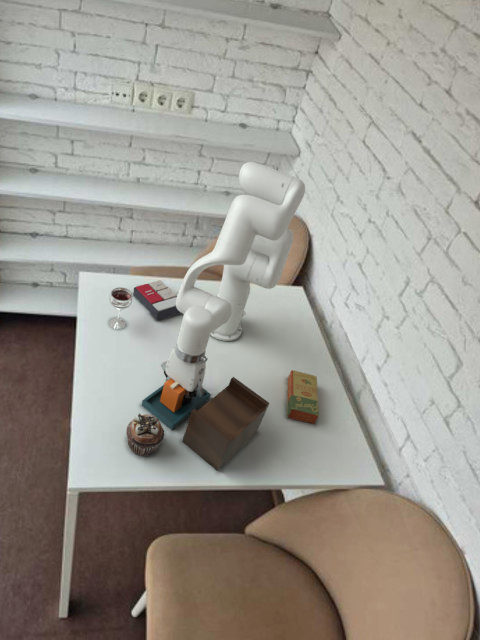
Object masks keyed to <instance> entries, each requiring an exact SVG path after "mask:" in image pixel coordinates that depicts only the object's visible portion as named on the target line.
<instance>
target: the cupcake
mask: <svg viewBox="0 0 480 640" xmlns="http://www.w3.org/2000/svg"><path fill="white" fill-rule="evenodd" d="M127 424H128V425H127V426H126V432H125V433H126V438H127V444H128V447H129V449H130V451H131V452H132V454H134V455H137V456H139V457H149V456H150V457H151V456H152V455H153V454H155V453H156V451H157V450H158V449H159V447H160V445H161V444H162V443H163V440H164V439H165V430H164V427H163V425H162V422H161V421H160V420H159V419H157V418H156V417H155V416H154V415H153V414H150V413H146V414H141V413H135V415H134V417H133V419H132V420H131V421H130V422H129V423H127Z"/></svg>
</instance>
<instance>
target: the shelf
mask: <svg viewBox="0 0 480 640" xmlns="http://www.w3.org/2000/svg"><path fill="white" fill-rule="evenodd" d="M269 406H270V402H269V401H268V400H266V399H265V398H264V397H262V396H261V395H259V394H258V393H257V392H255V391H254V390H253V389H252V388H250V387H248V386H247V385H246V384H244V383H243V382H241V381H240V380H239V379H237V378H236V377H235V376H232V377H231V378H230V381H229V383H228V385H227V386H225V387H224V388H223V389H222V390H221V391H220V392H218V393H217V394H215V396H214V397H212V398H210V399H209V401H207V402H206V403H204V404H203V405H202V406H201V407H200V408H198V409H197V410H195V409H194V410H192V411H191V415H189V419H188V422H187V424H186V428H185V430H184V431H185V432H184V434H183V438H182V441H181V442H182V443H183V444H184V445H185V446H186V447H188V448H189V449H190V450H191V451H193V452H194V453H195V454H196V455H198V456H199V458H201V459H202V460H203V461H205V462H206V463H207V464H208V465H210V466H211V467H212V468H213V469H215V470H216V471H217V472H218V471H219V470H221V469H222V467H223V466H224V465H226V464H227V463H228V461H230V460H231V459H232V458H233V457H234V456H235V455H236V454H237V452H239V451H240V450H241V449H242V448H243V447H244V446H245V445H246V444H247V443H248V442H249V441H250V440H251V439H252V438H253V437H254V436H255V435H256V434H257V433H258V431H259V428H260V426H261V425H262V421H263V419H264V417H265V414H266V413H267V410H268V408H269Z"/></svg>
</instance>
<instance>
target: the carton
mask: <svg viewBox="0 0 480 640" xmlns="http://www.w3.org/2000/svg"><path fill="white" fill-rule="evenodd" d="M286 390H287V393H286V394H287V396H286V398H287V400H286V418H288V419H292V420H296V421H300V422H304V423H307V424H313V425H315V423H316V422H317V420H318V419H319V416H320V413H319V398H318V397H319V396H318V395H319V394H318V377H317V375H313V374H310V373H306V372H301V371H298V370H293V369H291V370H290V372H289V375H288V376H287V389H286Z"/></svg>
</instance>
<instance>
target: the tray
mask: <svg viewBox="0 0 480 640" xmlns="http://www.w3.org/2000/svg"><path fill="white" fill-rule="evenodd" d="M163 387H164V384H163V385H161V386H160V387H159V388H158V389H156V390H155V391H152V393H150V394H148V395H147V396H146V397H145V398H144V399H142V401H141V406H142V407H143V408H144V409H145V410H146V411H148V412H149V414H150V415H153V416H155V417H156V418H157V419H158V420H159V421H160V423H161V424H163V425H165V426H166V427H167V428H168V429H170V431H172V430H174V429H176V427H177V426H179V425H180V424H182V422H184V421H185V420H186V419H187V418H188V417H190V415H191V411H192V410H194V409H195V410H196V411H198V410H199V409H200V408H201V407H202V406H204V405H205V404H206V403H207V402H208V400H209V401H210V400H211V396H212V393H210V392H209V391H208V390H206V389H205V388H204V387H203V390H204V392H205V394H204V395H203V396H202V397H197V396H196V397H193V398H192V399H191V402H190V403H189V404H188V405H187V404H186V405H185V406H182V407H180V408H179V409H178V410H177V411H175V412H172V411H171V410H170V409H169V408H167V407H166V406H165V405H164V404H162V403H161V402H160V399H161V395H162V391H163ZM195 390H197V389H195Z"/></svg>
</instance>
